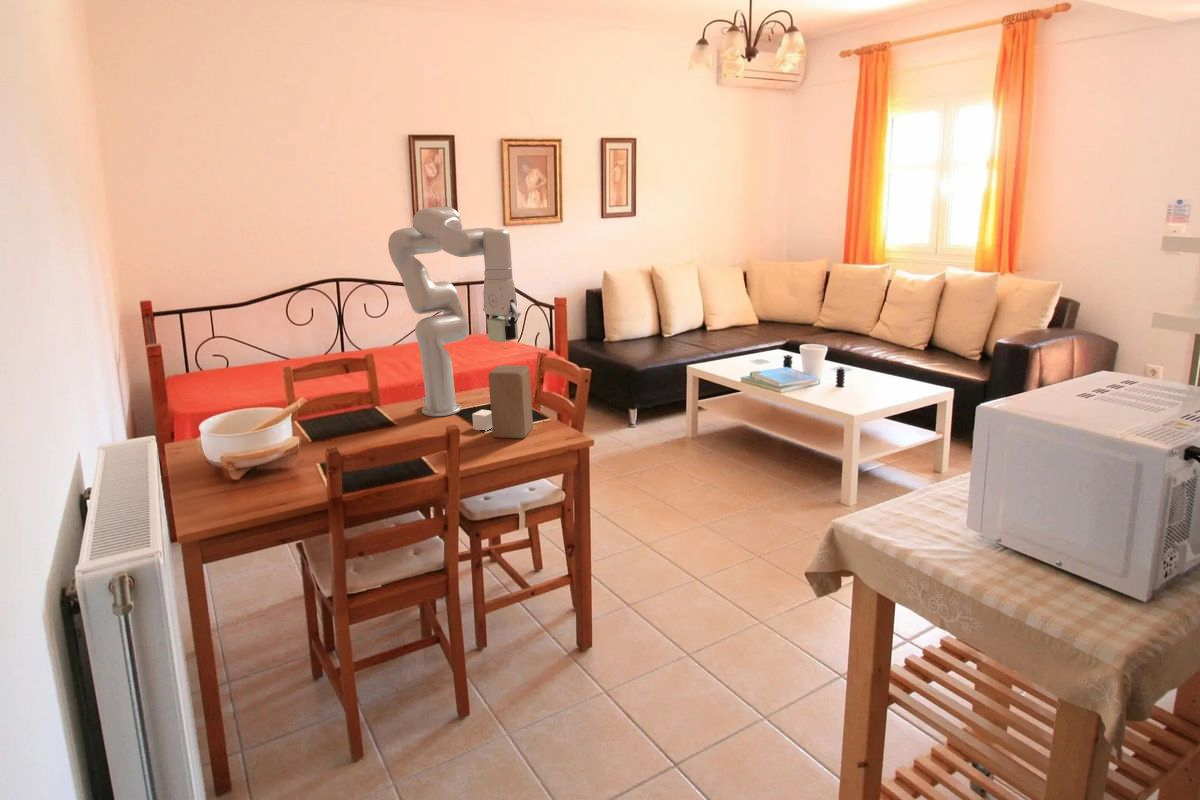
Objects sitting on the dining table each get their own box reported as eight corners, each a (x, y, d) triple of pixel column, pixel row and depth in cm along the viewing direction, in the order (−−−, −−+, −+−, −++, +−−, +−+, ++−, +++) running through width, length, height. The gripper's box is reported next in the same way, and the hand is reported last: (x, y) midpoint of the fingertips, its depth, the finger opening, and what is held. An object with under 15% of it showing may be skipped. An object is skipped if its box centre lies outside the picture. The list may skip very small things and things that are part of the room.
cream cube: (473, 429, 231) (472, 414, 229) (483, 424, 235) (481, 409, 234) (486, 431, 229) (485, 416, 227) (496, 426, 233) (495, 411, 231)
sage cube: (488, 340, 217) (487, 319, 215) (504, 336, 221) (503, 316, 219) (501, 342, 213) (500, 321, 211) (518, 338, 217) (516, 318, 215)
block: (524, 439, 220) (520, 373, 214) (492, 438, 222) (486, 373, 216) (534, 428, 230) (530, 364, 224) (502, 427, 232) (498, 364, 226)
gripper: (469, 274, 215) (474, 336, 220) (508, 278, 203) (512, 343, 209) (490, 271, 220) (494, 331, 225) (529, 275, 208) (533, 339, 214)
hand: (503, 337), depth 217 cm, fingers closed on sage cube, 6 cm apart
